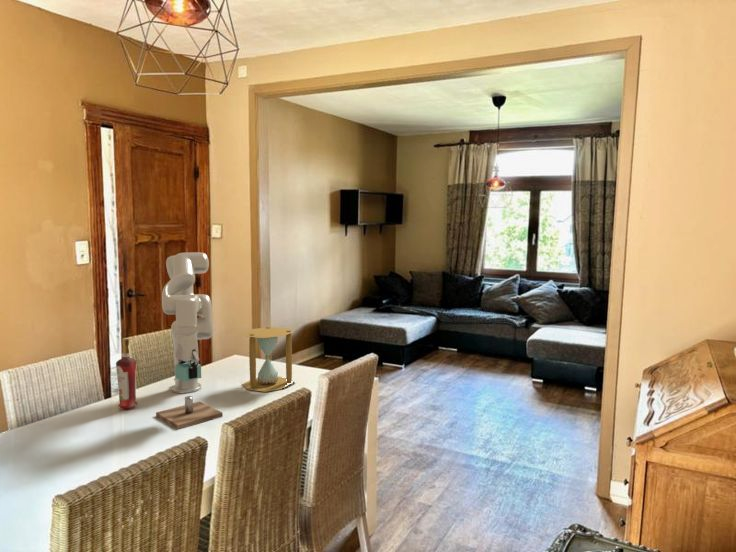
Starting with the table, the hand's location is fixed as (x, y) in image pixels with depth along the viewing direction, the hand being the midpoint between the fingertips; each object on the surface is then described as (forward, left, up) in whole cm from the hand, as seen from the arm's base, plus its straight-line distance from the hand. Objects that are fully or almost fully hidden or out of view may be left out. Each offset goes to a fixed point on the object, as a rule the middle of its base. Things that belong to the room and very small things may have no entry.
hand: (188, 375), depth 201 cm
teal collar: (0, 0, -1) cm, 1 cm away
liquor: (-26, -13, -16) cm, 33 cm away
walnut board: (0, 0, -16) cm, 16 cm away
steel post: (0, 0, -15) cm, 15 cm away
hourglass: (-12, +45, -16) cm, 49 cm away
